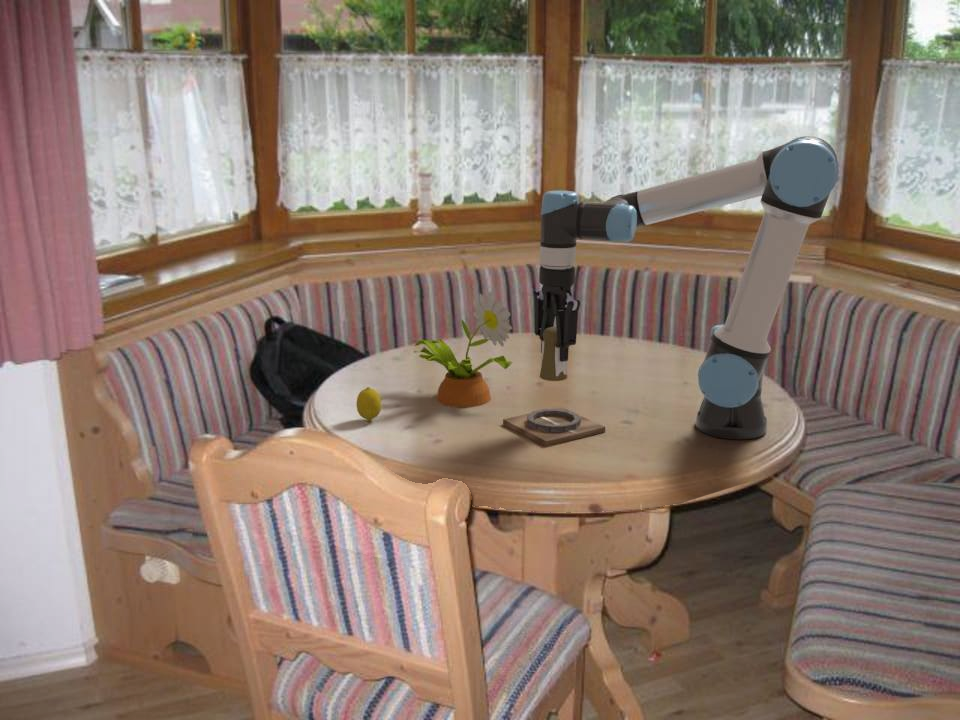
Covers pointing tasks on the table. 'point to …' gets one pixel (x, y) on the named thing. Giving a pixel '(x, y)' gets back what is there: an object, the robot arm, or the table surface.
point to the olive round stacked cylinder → (550, 356)
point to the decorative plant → (460, 379)
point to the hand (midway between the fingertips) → (553, 371)
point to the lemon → (368, 403)
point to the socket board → (553, 426)
